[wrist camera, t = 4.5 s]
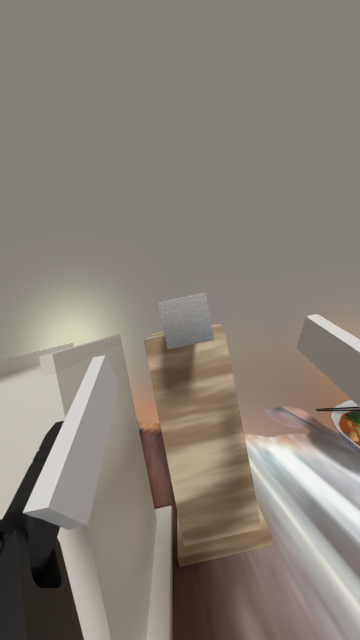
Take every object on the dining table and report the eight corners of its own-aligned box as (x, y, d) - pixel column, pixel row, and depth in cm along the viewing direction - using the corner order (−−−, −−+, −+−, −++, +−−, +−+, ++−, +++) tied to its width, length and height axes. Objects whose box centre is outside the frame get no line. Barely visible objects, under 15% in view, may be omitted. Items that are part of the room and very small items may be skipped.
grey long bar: (214, 340, 14) (205, 293, 14) (167, 349, 14) (158, 301, 14) (187, 325, 42) (184, 309, 42) (171, 328, 42) (168, 312, 42)
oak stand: (273, 545, 25) (232, 324, 24) (179, 567, 25) (135, 343, 24) (237, 463, 39) (211, 321, 38) (177, 476, 39) (149, 333, 38)
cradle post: (170, 850, 12) (69, 353, 11) (-40, 912, 11) (-159, 397, 11) (172, 513, 32) (137, 330, 31) (97, 530, 31) (59, 345, 30)
